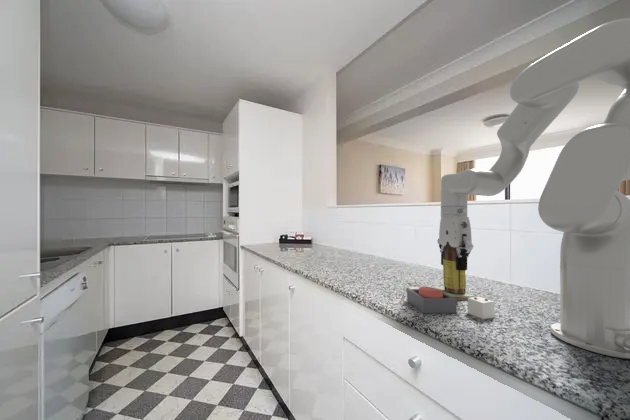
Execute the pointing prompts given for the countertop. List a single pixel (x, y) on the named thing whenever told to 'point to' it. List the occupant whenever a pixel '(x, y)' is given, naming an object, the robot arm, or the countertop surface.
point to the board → (456, 296)
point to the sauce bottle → (452, 271)
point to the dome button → (430, 292)
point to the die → (481, 307)
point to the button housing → (432, 303)
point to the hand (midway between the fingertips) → (453, 267)
